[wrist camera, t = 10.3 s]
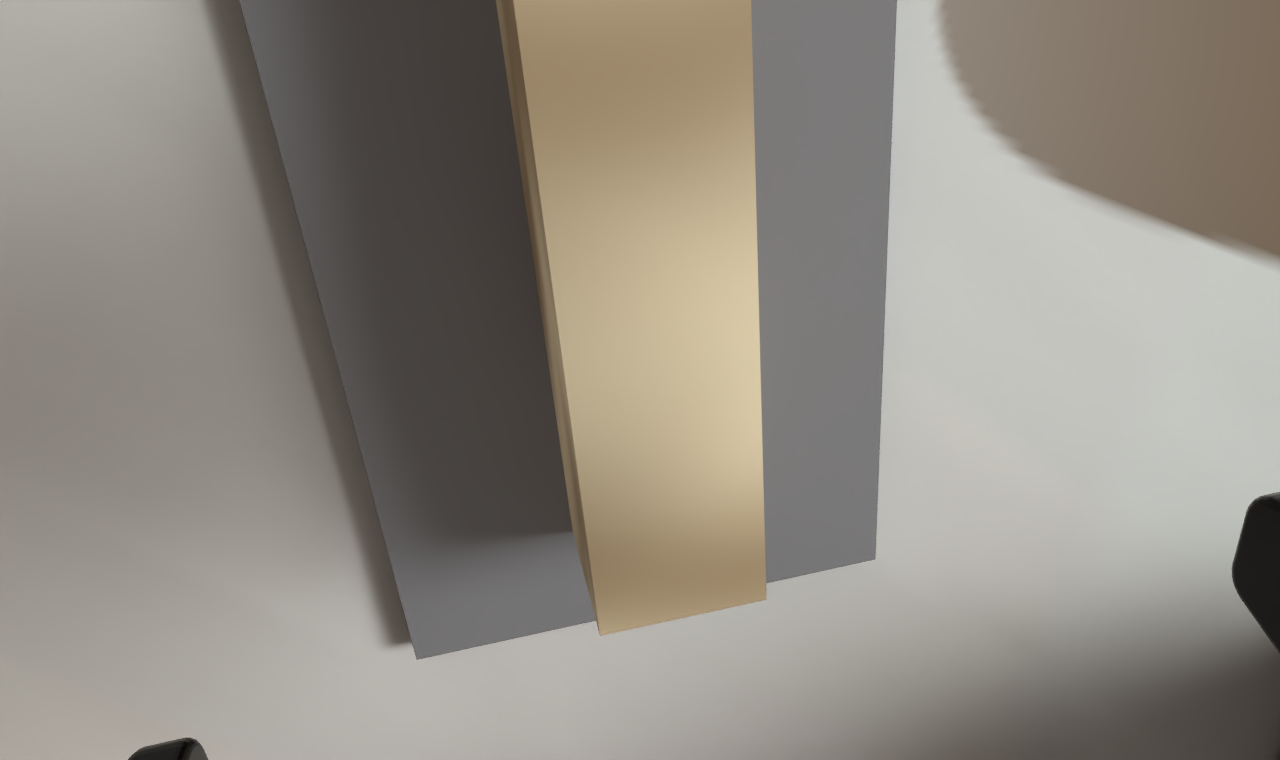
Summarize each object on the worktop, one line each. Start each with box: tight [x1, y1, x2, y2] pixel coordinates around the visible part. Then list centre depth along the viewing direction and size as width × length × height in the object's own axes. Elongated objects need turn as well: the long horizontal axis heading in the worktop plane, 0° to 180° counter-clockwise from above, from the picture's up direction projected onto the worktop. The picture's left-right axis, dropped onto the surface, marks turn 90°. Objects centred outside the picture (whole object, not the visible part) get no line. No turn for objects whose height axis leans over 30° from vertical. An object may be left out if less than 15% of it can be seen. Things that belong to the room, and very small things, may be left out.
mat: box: [239, 0, 897, 660], centre depth 13 cm, size 18×8×1 cm, turn 5°
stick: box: [496, 0, 766, 636], centre depth 12 cm, size 14×2×2 cm, turn 5°
